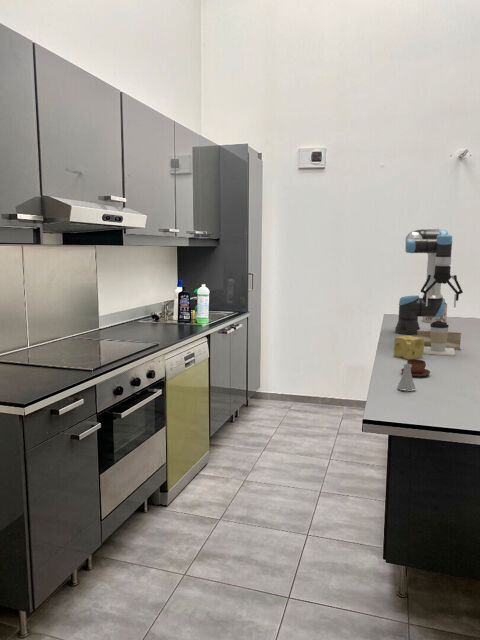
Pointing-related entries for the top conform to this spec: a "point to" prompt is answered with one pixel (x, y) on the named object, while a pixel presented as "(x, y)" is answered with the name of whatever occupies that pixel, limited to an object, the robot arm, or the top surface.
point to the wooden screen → (452, 339)
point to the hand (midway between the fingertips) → (440, 306)
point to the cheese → (409, 347)
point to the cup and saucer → (417, 368)
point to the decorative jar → (434, 319)
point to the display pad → (447, 351)
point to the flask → (406, 378)
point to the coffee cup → (438, 335)
